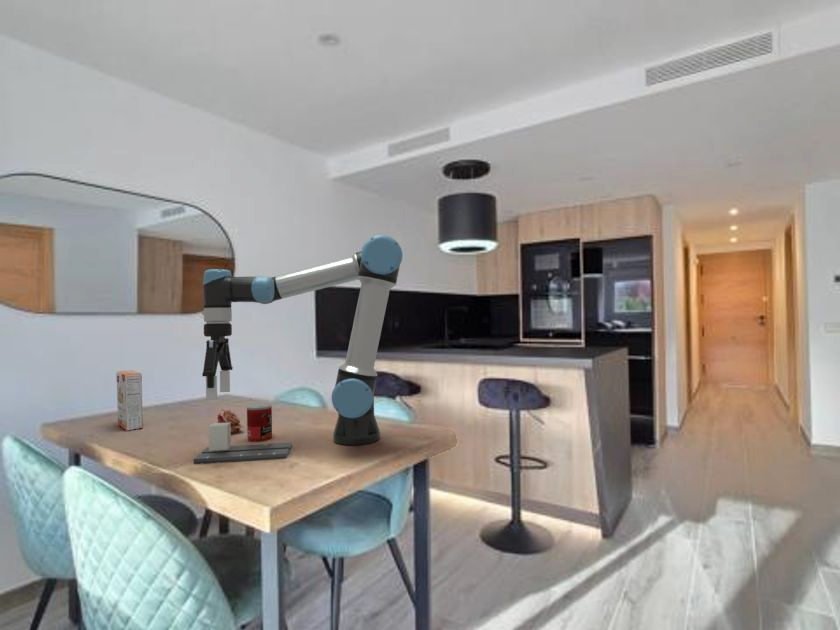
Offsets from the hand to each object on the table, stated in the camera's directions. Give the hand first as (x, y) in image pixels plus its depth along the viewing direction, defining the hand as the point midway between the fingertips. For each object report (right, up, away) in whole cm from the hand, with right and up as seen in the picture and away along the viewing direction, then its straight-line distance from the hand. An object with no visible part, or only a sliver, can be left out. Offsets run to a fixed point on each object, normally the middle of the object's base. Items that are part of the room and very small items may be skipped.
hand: (218, 395), depth 138 cm
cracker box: (-51, -19, +41) cm, 68 cm away
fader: (+1, -18, 0) cm, 18 cm away
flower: (-8, -18, +29) cm, 35 cm away
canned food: (+5, -18, +20) cm, 27 cm away
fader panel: (+7, -18, +1) cm, 19 cm away
